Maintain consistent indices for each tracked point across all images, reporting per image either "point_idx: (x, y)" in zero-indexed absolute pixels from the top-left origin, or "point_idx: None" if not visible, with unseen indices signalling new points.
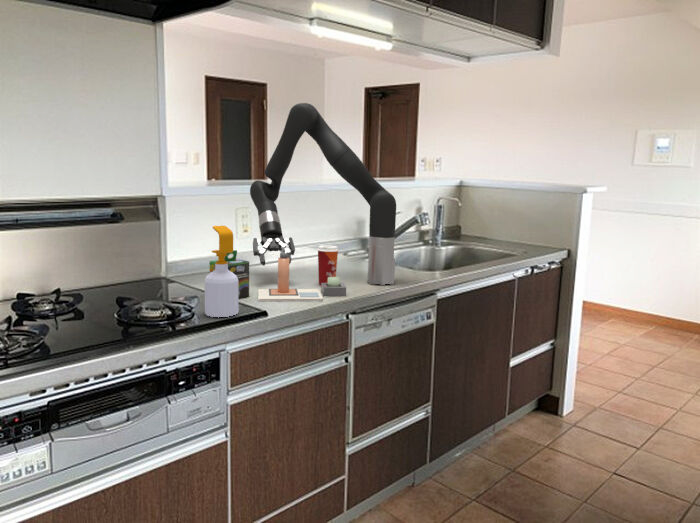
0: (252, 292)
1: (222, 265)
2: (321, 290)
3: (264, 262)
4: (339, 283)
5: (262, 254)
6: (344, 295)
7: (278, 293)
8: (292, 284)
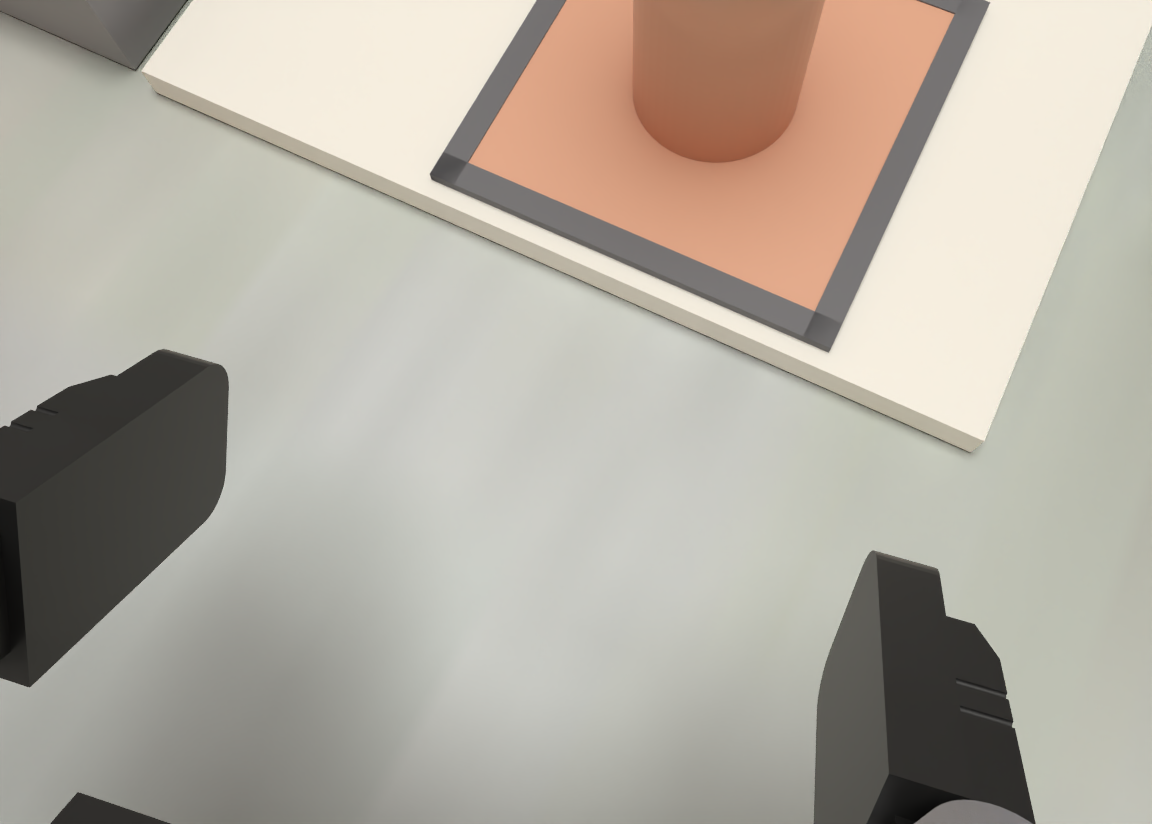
0: (1083, 439)
1: None
2: (150, 15)
3: (895, 562)
4: None
5: (955, 768)
6: None
7: (829, 28)
8: (168, 712)
